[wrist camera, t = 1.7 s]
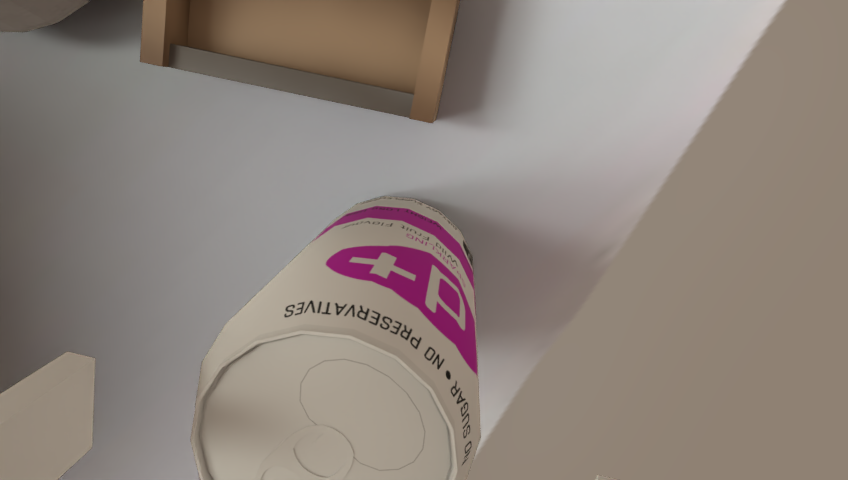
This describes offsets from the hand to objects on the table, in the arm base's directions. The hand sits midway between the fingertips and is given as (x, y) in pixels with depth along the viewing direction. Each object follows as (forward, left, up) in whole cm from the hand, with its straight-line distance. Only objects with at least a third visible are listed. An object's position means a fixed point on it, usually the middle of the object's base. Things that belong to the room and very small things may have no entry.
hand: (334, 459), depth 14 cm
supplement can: (0, 0, -15) cm, 15 cm away
